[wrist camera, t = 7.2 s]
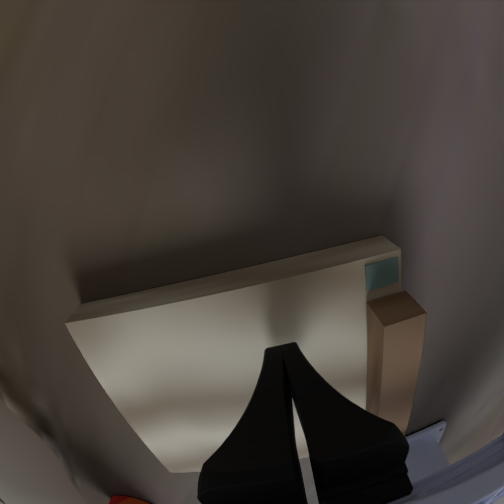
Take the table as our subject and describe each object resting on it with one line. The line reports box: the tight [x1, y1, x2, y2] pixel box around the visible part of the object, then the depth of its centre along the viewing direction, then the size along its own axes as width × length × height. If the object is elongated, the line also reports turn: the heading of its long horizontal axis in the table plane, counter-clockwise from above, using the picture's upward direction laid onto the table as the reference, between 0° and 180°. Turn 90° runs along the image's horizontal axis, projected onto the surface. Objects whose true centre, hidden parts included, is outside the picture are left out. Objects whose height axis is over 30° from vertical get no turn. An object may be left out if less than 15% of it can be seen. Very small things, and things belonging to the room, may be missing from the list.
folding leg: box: [366, 291, 427, 438], centre depth 13 cm, size 11×2×3 cm, turn 13°
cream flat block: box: [65, 235, 402, 472], centre depth 16 cm, size 14×16×2 cm
